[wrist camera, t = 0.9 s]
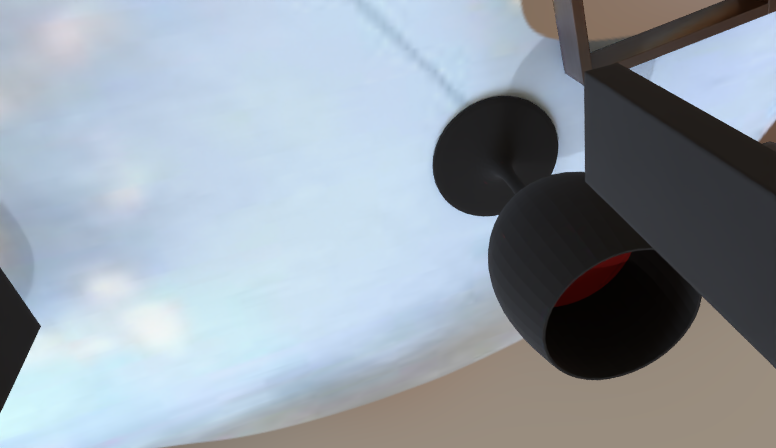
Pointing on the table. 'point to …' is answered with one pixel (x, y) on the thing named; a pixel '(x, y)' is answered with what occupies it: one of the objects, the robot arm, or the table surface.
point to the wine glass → (560, 246)
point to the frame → (647, 34)
